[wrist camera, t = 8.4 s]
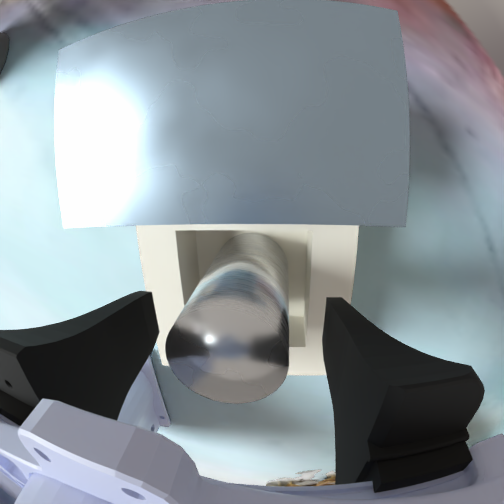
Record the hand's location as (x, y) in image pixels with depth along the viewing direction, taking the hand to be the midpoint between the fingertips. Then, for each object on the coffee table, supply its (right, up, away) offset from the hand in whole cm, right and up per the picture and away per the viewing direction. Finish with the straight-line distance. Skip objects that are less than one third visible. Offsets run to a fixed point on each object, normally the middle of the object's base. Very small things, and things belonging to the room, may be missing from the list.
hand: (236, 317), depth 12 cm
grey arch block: (+1, +9, +3) cm, 10 cm away
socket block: (+1, +2, +6) cm, 6 cm away
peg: (+1, +2, +5) cm, 5 cm away
